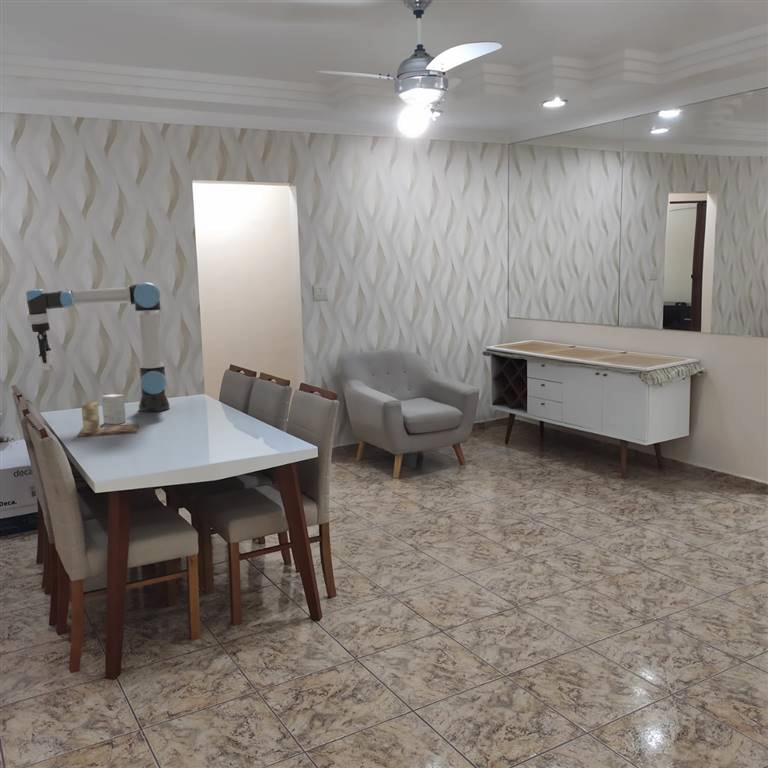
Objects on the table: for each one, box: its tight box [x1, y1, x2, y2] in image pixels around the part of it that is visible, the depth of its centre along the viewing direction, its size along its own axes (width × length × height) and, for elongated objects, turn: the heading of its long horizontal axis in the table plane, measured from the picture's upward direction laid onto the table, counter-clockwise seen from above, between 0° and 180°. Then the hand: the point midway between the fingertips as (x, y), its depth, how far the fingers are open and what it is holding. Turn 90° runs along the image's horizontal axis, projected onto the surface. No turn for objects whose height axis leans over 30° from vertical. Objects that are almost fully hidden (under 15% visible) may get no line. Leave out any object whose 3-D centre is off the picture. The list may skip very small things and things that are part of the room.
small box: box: [101, 394, 127, 425], centre depth 352 cm, size 8×6×13 cm
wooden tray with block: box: [77, 401, 139, 438], centre depth 332 cm, size 24×16×13 cm, turn 105°
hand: (47, 367), depth 355 cm, fingers open, 13 cm apart
